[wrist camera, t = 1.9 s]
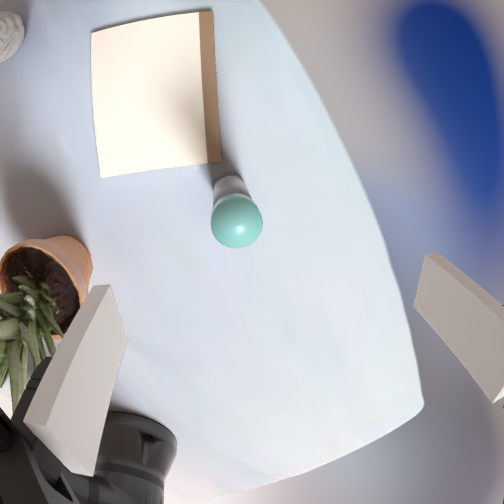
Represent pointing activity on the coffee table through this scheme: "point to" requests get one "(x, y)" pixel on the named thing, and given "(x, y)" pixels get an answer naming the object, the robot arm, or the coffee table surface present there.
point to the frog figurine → (10, 34)
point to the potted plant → (38, 301)
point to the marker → (234, 213)
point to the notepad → (155, 94)
